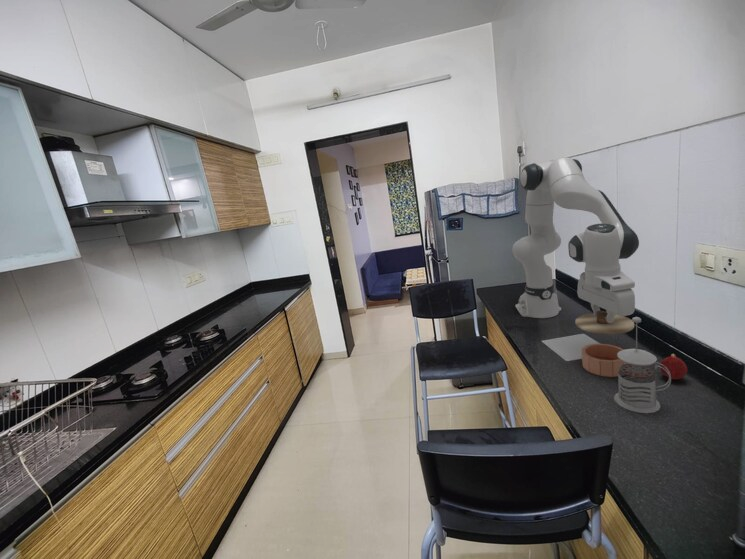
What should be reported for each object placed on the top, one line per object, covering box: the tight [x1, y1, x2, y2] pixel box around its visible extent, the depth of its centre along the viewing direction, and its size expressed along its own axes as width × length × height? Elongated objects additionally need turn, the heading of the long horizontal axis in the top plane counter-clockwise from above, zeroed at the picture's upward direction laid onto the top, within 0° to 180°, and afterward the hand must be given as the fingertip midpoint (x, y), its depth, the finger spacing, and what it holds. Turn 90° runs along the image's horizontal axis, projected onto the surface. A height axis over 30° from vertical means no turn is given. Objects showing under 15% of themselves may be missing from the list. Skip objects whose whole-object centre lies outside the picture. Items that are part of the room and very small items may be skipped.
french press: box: [613, 316, 672, 414], centre depth 83 cm, size 10×12×25 cm
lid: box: [575, 310, 635, 335], centre depth 99 cm, size 15×15×4 cm
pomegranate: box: [659, 353, 688, 380], centre depth 91 cm, size 6×6×8 cm
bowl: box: [581, 343, 628, 378], centre depth 102 cm, size 12×12×6 cm
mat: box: [541, 333, 601, 362], centre depth 118 cm, size 17×17×1 cm
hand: (603, 319), depth 99 cm, fingers closed on lid, 3 cm apart
